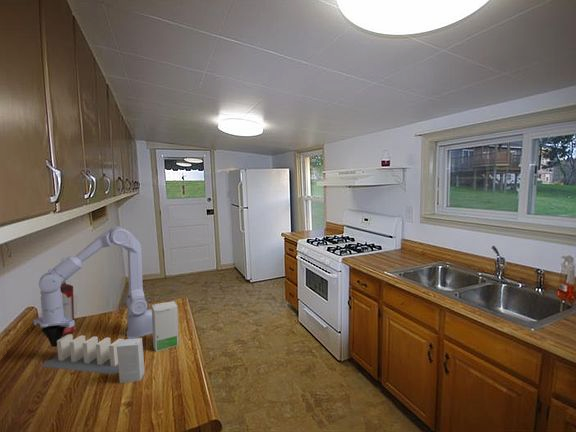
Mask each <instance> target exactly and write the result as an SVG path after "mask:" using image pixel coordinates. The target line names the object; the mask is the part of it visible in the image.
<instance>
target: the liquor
mask: <svg viewBox="0 0 576 432" xmlns="http://www.w3.org/2000/svg"><path fill="white" fill-rule="evenodd" d="M60 289H61V292H62V299H63V310H64V317H66V318H68V319H71V320H74V321H75V311H74V310H75V309H74V308H75V307H74V300H75V299H74V298H75V297H74V286H73V285H71V284H67V280H66V281H63V282H62V283H61V287H60ZM76 330H77V327H76V326H75V325H74V326H73V327H71V328H67V327H66V328H65V330H64V332H63V335H62V337H65V336H66V335H68V334H72V333H74V332H75V331H76Z"/></svg>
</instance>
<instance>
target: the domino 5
mask: <svg viewBox="0 0 576 432" xmlns="http://www.w3.org/2000/svg"><path fill="white" fill-rule="evenodd" d="M122 340H124V338H118V339H116V340H115V341H113V342H111V345H109V351H110V364H111V366H116V365H117V364H118V355H117V346H118V345H119V343H120V342H121V341H122Z"/></svg>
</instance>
